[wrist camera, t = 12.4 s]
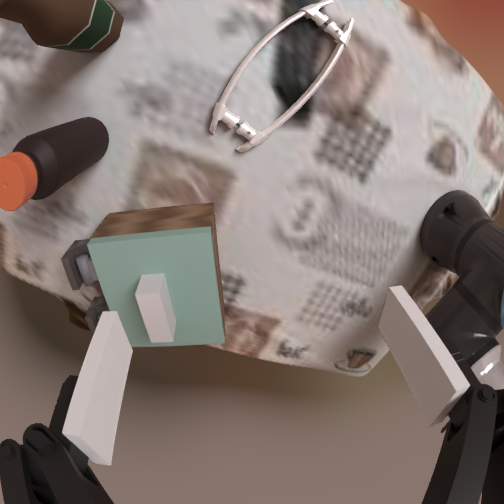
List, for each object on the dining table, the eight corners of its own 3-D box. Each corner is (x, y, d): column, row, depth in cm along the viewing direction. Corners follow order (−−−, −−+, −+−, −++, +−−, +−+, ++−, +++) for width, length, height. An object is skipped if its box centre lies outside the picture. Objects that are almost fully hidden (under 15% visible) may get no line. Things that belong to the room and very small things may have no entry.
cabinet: (213, 202, 43) (211, 234, 34) (223, 302, 52) (225, 345, 44) (84, 216, 42) (57, 248, 33) (113, 308, 51) (99, 348, 42)
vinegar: (69, 116, 34) (-22, 147, 17) (112, 117, 35) (33, 146, 18) (67, 161, 37) (-15, 218, 20) (108, 164, 38) (37, 224, 21)
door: (210, 226, 36) (209, 249, 31) (224, 335, 45) (225, 363, 40) (74, 240, 35) (56, 263, 30) (112, 339, 44) (104, 366, 39)
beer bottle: (71, 18, 26) (-43, -12, 6) (121, -4, 26) (31, -70, 6) (78, 63, 30) (-44, 62, 10) (129, 42, 30) (31, 4, 10)
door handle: (363, 35, 33) (253, 161, 41) (310, -10, 29) (194, 120, 37) (371, 33, 30) (255, 166, 39) (315, -16, 27) (193, 122, 35)
